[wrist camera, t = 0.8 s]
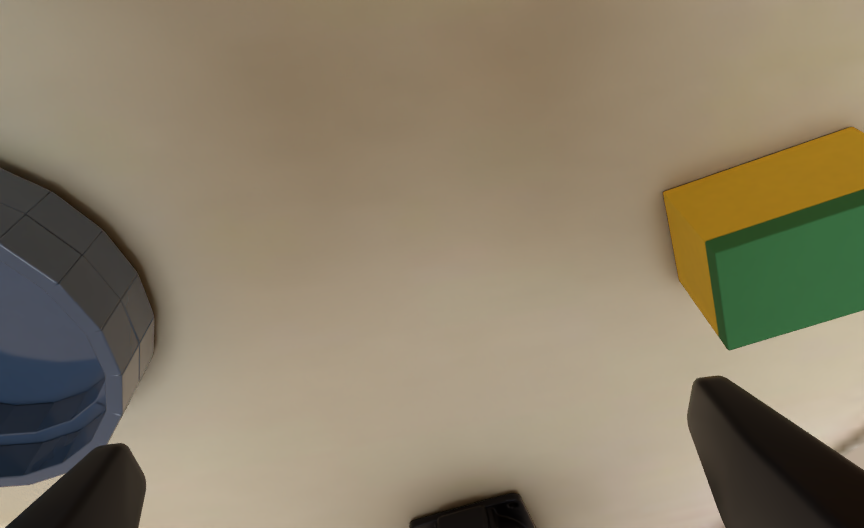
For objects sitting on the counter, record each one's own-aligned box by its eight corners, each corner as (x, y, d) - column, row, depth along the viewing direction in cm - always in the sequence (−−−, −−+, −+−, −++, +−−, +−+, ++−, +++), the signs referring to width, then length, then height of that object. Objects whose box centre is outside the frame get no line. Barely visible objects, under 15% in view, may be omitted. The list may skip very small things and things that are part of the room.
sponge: (852, 125, 22) (947, 177, 18) (850, 225, 24) (934, 289, 20) (662, 191, 23) (714, 253, 19) (678, 280, 25) (728, 351, 21)
